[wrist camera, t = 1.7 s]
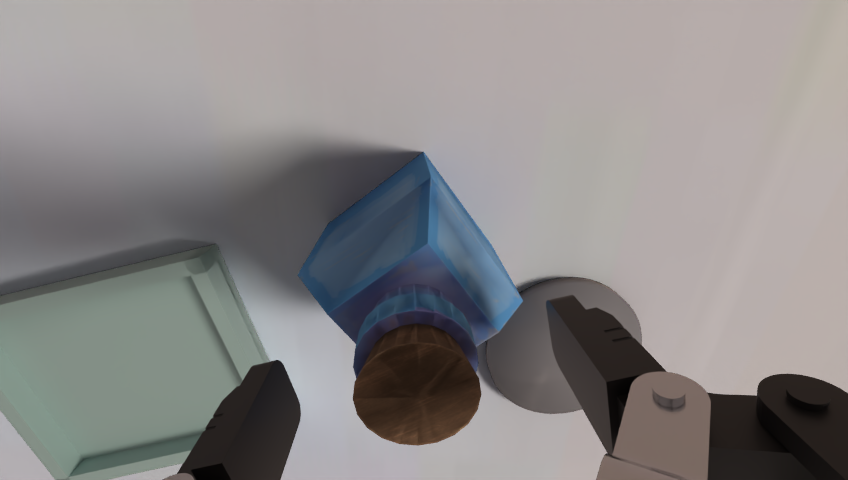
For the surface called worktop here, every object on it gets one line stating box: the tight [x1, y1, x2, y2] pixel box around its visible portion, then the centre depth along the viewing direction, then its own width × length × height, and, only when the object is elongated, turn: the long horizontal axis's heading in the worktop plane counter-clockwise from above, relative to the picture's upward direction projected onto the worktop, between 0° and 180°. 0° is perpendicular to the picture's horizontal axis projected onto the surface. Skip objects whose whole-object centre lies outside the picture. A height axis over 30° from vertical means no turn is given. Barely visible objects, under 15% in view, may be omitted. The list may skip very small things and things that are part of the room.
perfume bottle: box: [298, 152, 523, 445], centre depth 15 cm, size 6×6×12 cm
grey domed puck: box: [486, 277, 642, 414], centre depth 23 cm, size 9×9×1 cm
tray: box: [0, 244, 270, 480], centre depth 22 cm, size 12×14×2 cm
